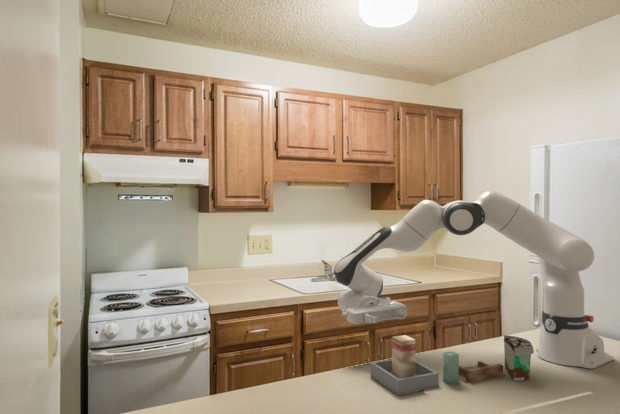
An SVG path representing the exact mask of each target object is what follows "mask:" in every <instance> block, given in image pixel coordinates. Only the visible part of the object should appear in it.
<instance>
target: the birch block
mask: <svg viewBox="0 0 620 414" xmlns="http://www.w3.org/2000/svg"><path fill="white" fill-rule="evenodd" d="M416 344H417V343H416V339H415V338H413V337H411V336H409V335H407V334H404V335H403V334H402V335H395V336H391V359H392V375H394V376H395V377H397V378H399V379H401V378H407V377H412V376H415V361H416V349H417V345H416Z"/></svg>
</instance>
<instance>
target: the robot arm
mask: <svg viewBox="0 0 620 414" xmlns="http://www.w3.org/2000/svg"><path fill="white" fill-rule="evenodd" d="M483 224H484V225H487V226H489V227H490V228H492V229H494V230H495V231H496V232H498V233H500V234H501V235H503V236H504V237H506V238H507V239H509V240H511V241H513V242H514V243H516V244H517V245H519V246H520V247H522V248H524V249H526V250H527V251H529V252H530V253H532V254H534V255H536V256H537V257H538V258H539V267H540V269H539V270H540V275H541V279H542V286H543V287H542V289H543V290H542V291H543V299H542V300H543V310H541V323H542V325H541V326H540V329H539V337H538V345H537V346H535V347H536V348H535V350H536V351H537V356H538V357H539V358H541V359H543V360H545V361H547V362H550V363H553V364H557V365H562V366H569V367H581V368H586V369H595V368H598V367H601V366H603V365H605V364H607V363H609V362H611V361H613V360H614V356H613V355H612V354H610V353H609V352H606V351H605V343H604V340H603V338H602V337H600V335H598V334H597V333H596V332H594V331H593V330H592V329H591V328H590V325H589V323H594V321H595V317H594V315H589V314H585V289H584V287H583V284H582V281H581V277H580V273H579V272H583V271H585V270H587V269H589V268H590V267H591V266H592V264H593V262H594V259H595V253H594V250H593V247H592V245H590V244H589V243H588V242H587V241H586V240H584V239H583V238H581V237H579V236H578V235H576V234H574V233H573V232H570V231H568V230H567V229H565V228H563V227H561V226H559V225H558V224H555V223H554V222H552V221H550V220H547V219H546V218H544V217H542V216H540V215H539V214H537V213H535V212H534V211H532V210H531V209H529V208H527V207H526V206H524V205H522V204H521V203H519V202H518V201H516V200H514V199H512V198H510V197H509V196H506V195H504V194H502V193H499V192H496V191H493V190H488V191H487V190H486V191H485V192H483V193H481V194H480V195H479V196H478V197H477V199H476V200H474V201H473V202H471V201H467V200H461V199H455V200H452V201H449V202H446V203H443V204H439V203H437V202H436V201H434V200H432V199H431V200H430V199H423V200H421V201H420V202H419V203H418V204H416V205H415V206H414V207H412V208H411V210H409V211H408V212H407V214H405V215H404V216H403V218H401V219H400V221H398V222H396V223H395V224H393V225H391V226H383V227H381V228H380V229H378V230H377V231H376V232H374V233H372V235H371V236H369V237H368V238H367V239H366V240H364V242H362V243H360V244H359V246H357V247H356V248H355V249H354V250H353V251H352V252H350V253H349V254H347V255H346V256H344V257H341V259H339V261H337V263H336V264H335V265H334V269H333V271H334V277H335V280H336V282H337V283H339V284H341V285H343V286H345V287H347V288H348V289H346V290H343V291H342V292H340V293H339V294H338V297H337V306H338V308H339V310H341V316H343V317H346V320H347V321H348V322H349V323H351V324H352V325H359V324H360V325H361V324H377V323H379V322H380V321H387V320H394V319H399V320H404V319H405V318H406V317H407V315H408V307H407V304H404V303H401V302H399V301H397V300H392V299H391V298H390V297H388V296H387V297H385V296H382V297H381V295H382V292H383V289H384V280H383V277H382V276H381V275H380V274H379V273H377V272H376V271H374V270H373V269H371V268H369V267H368V266H367V265H365V264H363V263H364V262H366V261H367V260H368V259H369V258H370V257H371V256H373V255H374V254H375V253H377V252H378V251H380V250H383V249H391V250H395V251H400V252H414V251H417V250H419V249H420V248H422V247H423V246H424V244H425V243H426V242H427V241H428V240H429V239H430V238H431V237H432V235H434V233H436V232H437V231H439V230H440V229H446V231H448V232H450V233H451V234H452V235H457V236H466V235H468V234H471V233H472V232H474V231H475V230H476V229H478V228H479V227H481V226H482V225H483Z"/></svg>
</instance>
